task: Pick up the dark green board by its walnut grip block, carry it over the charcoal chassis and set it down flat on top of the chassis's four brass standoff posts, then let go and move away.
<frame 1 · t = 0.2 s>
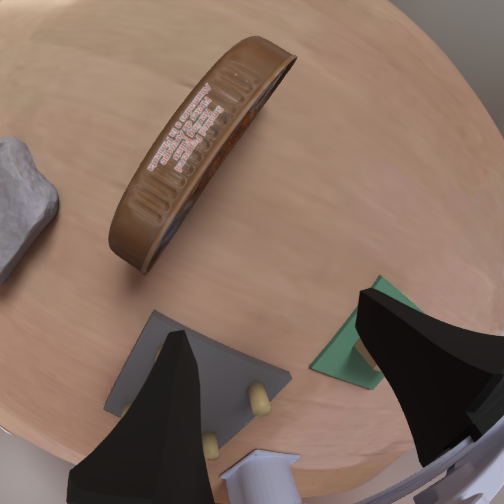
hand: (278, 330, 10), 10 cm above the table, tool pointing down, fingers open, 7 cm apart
chassis: (190, 394, 23), on the table
tin: (200, 154, 18), on the table
stone block: (6, 206, 16), on the table
board: (373, 337, 26), on the table
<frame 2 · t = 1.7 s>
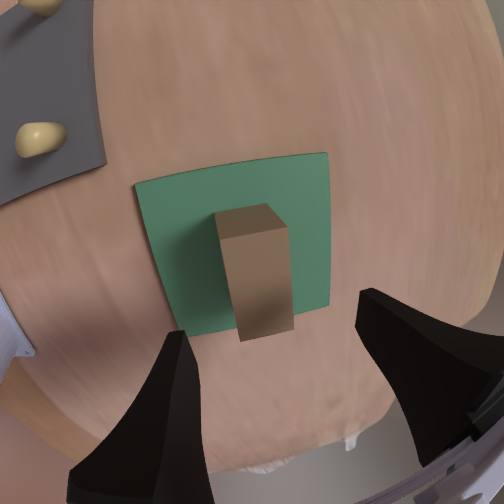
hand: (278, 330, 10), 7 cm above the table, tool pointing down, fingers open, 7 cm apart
chassis: (4, 97, 9), on the table
board: (244, 248, 17), on the table
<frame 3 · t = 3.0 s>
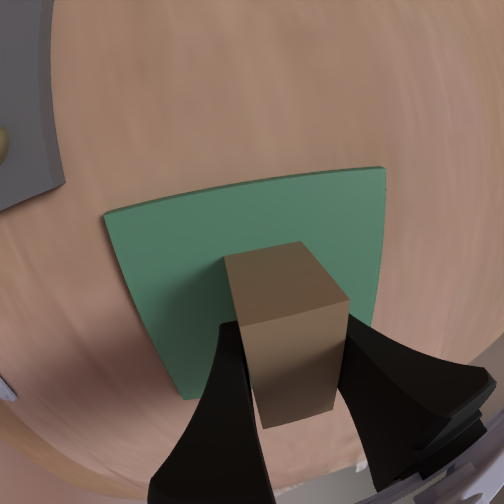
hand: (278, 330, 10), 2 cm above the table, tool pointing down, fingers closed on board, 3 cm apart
board: (265, 297, 13), on the table, touching gripper
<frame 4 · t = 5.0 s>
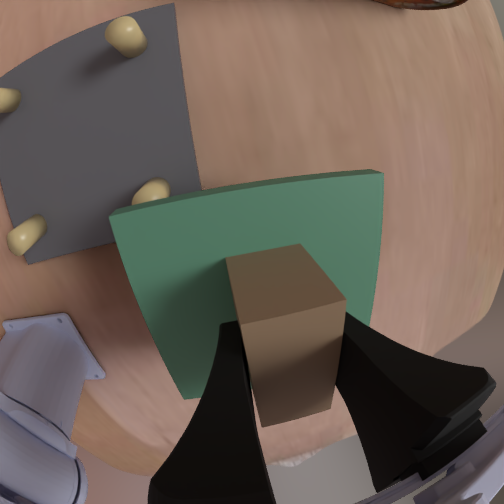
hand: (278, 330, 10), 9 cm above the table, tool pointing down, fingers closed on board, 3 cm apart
chassis: (80, 137, 13), on the table
board: (265, 298, 13), point 6 cm above the table, touching gripper
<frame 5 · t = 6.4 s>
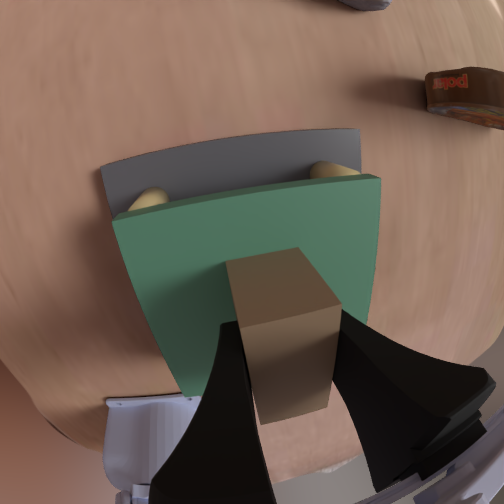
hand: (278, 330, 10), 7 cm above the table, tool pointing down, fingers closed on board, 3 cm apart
chassis: (248, 255, 16), on the table
tin: (460, 102, 14), on the table
board: (264, 299, 13), point 4 cm above the table, touching chassis, gripper
when the fingers open (7 cm above the table, at t = 6.9 s): board stays where it is, resting on chassis.
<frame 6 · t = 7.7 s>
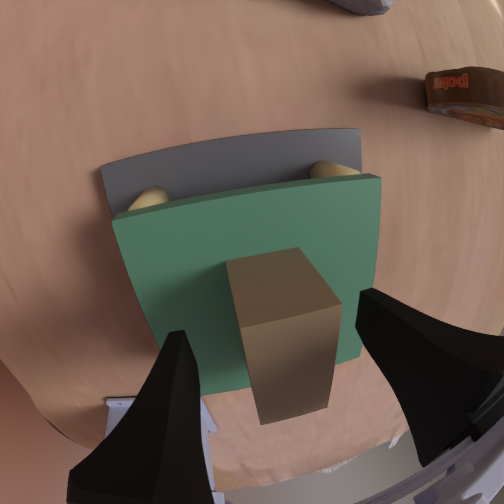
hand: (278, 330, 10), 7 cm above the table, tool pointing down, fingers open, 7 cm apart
chassis: (248, 255, 16), on the table
tin: (461, 102, 14), on the table
board: (264, 299, 13), point 4 cm above the table, touching chassis
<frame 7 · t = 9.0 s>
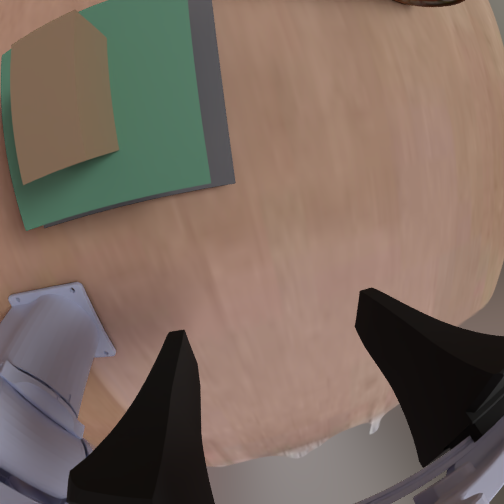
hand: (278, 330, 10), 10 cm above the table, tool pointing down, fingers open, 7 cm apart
chassis: (112, 100, 13), on the table
board: (90, 102, 10), point 4 cm above the table, touching chassis
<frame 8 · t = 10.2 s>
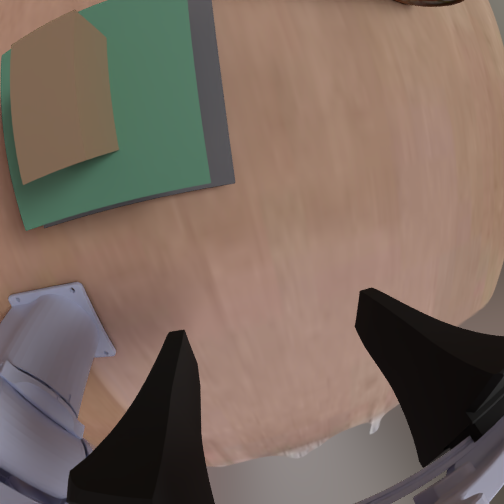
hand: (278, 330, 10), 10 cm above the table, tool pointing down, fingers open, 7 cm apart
chassis: (112, 100, 13), on the table
board: (90, 102, 10), point 4 cm above the table, touching chassis
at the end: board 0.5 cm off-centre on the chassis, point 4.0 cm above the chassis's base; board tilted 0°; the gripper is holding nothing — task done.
